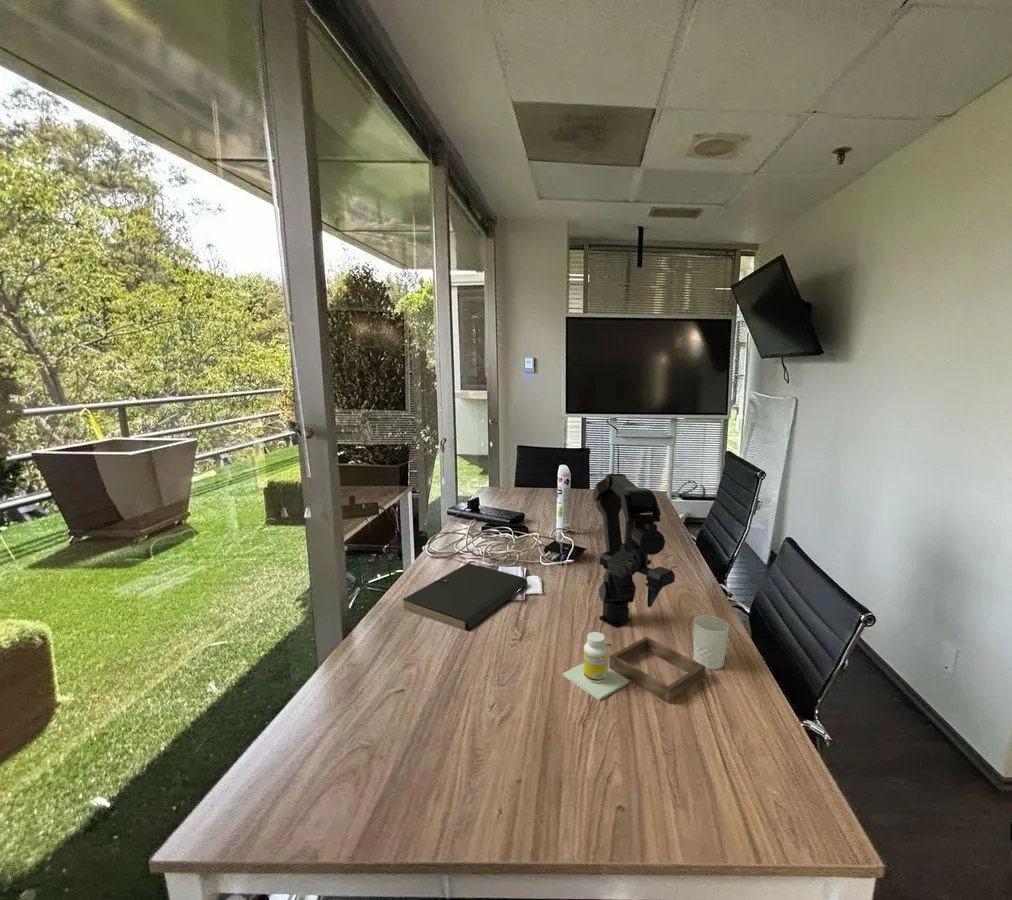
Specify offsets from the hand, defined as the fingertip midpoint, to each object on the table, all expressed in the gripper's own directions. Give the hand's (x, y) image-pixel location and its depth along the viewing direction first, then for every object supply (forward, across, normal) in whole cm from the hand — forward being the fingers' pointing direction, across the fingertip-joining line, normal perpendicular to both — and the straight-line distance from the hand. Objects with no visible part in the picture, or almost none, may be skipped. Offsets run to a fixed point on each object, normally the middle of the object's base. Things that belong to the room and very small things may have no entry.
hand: (633, 600), depth 121 cm
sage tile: (+13, +3, -17) cm, 22 cm away
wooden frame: (+13, +10, -4) cm, 17 cm away
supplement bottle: (+13, +3, -17) cm, 21 cm away
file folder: (+14, -49, -17) cm, 54 cm away
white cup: (+13, +15, +10) cm, 22 cm away
